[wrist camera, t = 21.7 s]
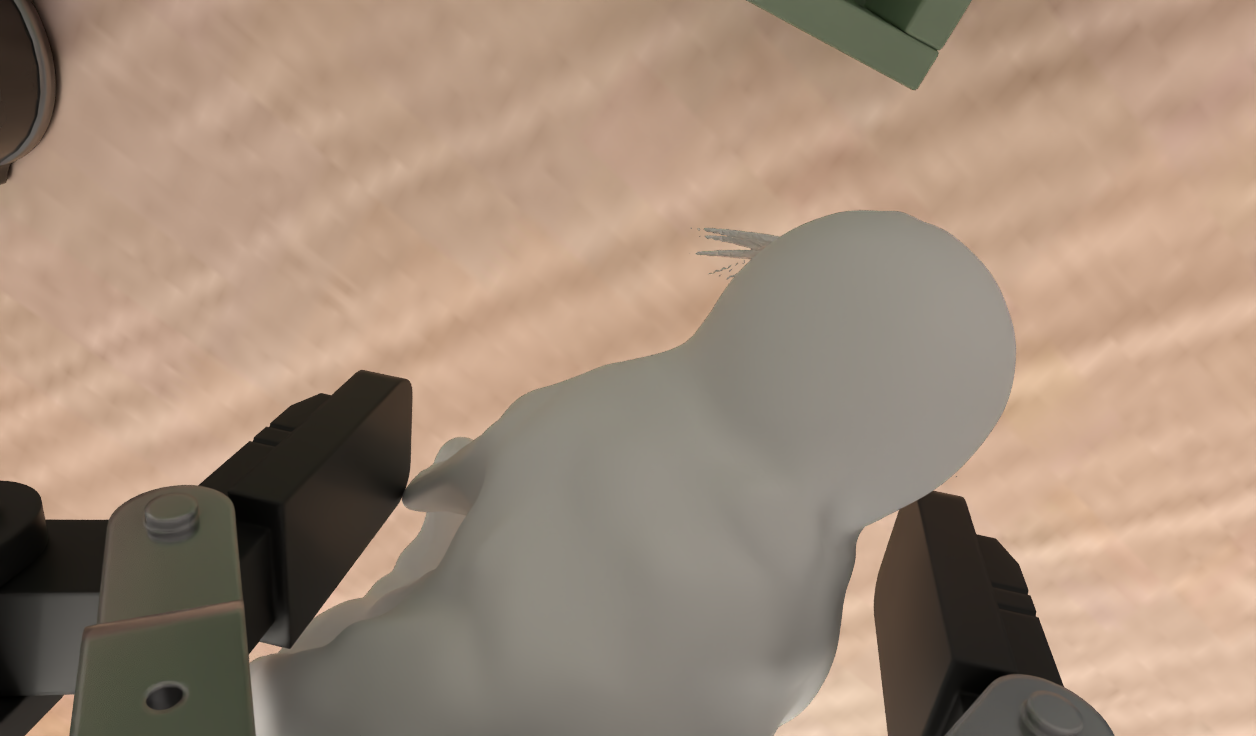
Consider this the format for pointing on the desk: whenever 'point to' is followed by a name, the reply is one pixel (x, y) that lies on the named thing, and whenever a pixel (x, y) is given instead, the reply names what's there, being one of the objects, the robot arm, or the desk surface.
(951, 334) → the white lumpy piece
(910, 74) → the chest
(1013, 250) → the desk surface
